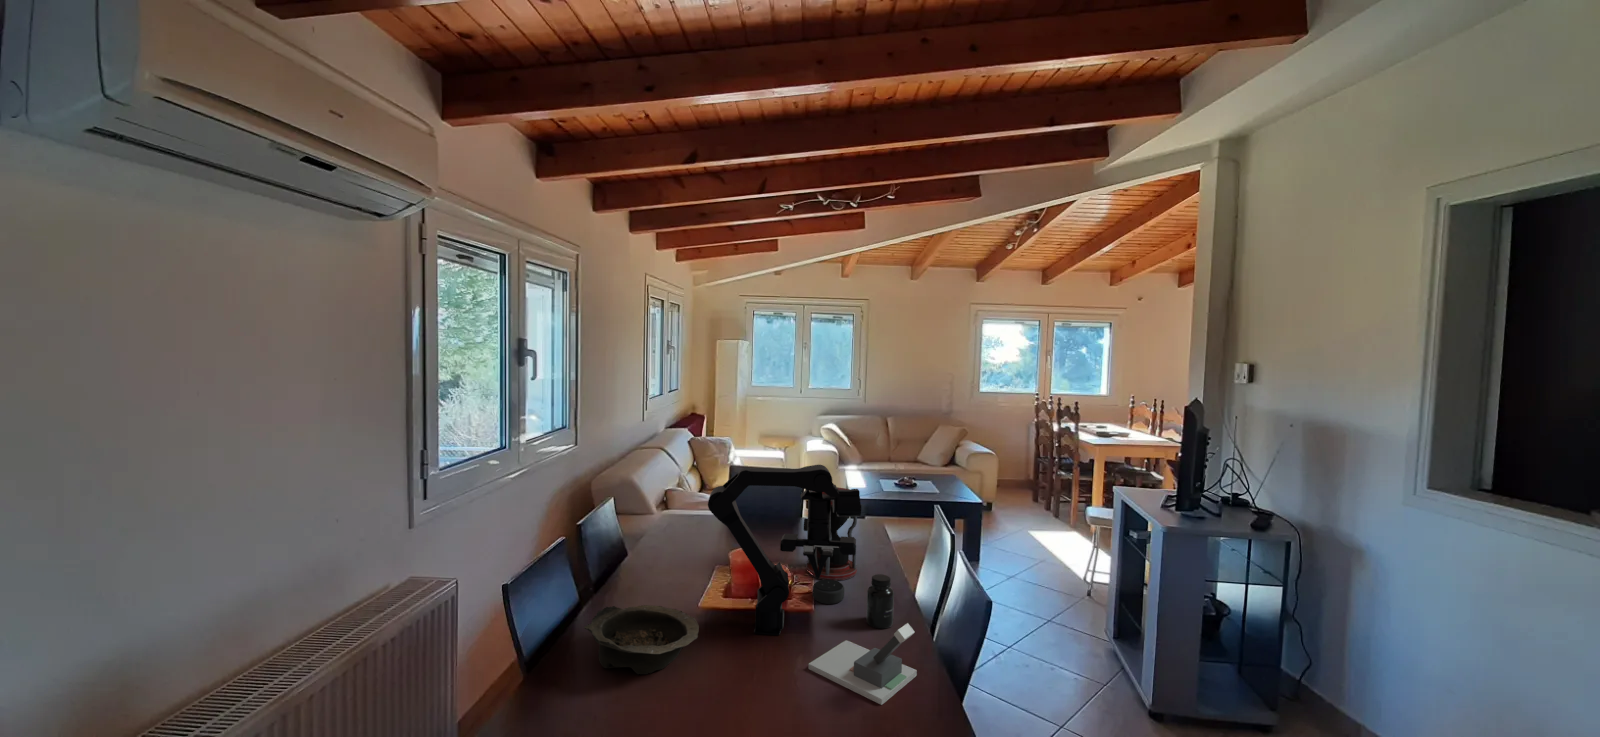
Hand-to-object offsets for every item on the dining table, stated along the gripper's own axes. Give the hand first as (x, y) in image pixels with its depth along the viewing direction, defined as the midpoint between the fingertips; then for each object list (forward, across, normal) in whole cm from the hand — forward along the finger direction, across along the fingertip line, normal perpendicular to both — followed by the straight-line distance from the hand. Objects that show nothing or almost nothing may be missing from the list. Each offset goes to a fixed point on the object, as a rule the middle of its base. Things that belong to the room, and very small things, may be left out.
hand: (817, 577), depth 146 cm
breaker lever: (+8, -15, +21) cm, 27 cm away
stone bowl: (+13, +38, +18) cm, 44 cm away
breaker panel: (+13, -11, +18) cm, 25 cm away
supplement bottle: (+13, -16, -5) cm, 21 cm away
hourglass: (+13, -2, -38) cm, 40 cm away
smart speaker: (+13, -2, -18) cm, 23 cm away
